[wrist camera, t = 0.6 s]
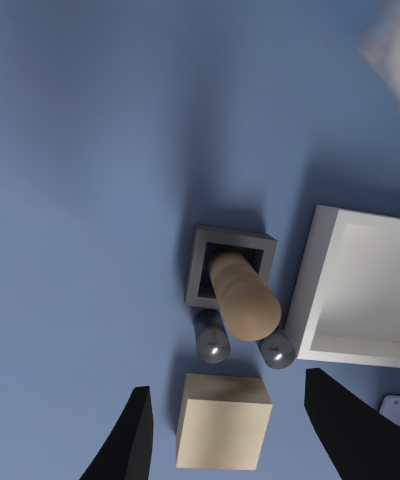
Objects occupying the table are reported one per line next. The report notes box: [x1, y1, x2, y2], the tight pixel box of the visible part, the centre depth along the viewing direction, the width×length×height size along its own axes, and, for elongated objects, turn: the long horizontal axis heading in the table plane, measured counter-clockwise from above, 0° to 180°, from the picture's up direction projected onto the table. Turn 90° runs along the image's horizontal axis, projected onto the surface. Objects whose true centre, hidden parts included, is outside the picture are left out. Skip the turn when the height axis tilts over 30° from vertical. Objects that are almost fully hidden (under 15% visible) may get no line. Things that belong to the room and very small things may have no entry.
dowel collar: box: [184, 224, 277, 309], centre depth 21 cm, size 6×6×2 cm
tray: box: [284, 204, 400, 368], centre depth 22 cm, size 12×12×3 cm
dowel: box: [207, 246, 281, 341], centre depth 18 cm, size 3×3×8 cm
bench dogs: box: [194, 310, 296, 369], centre depth 22 cm, size 7×2×4 cm, turn 81°
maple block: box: [176, 373, 273, 470], centre depth 24 cm, size 7×7×3 cm
